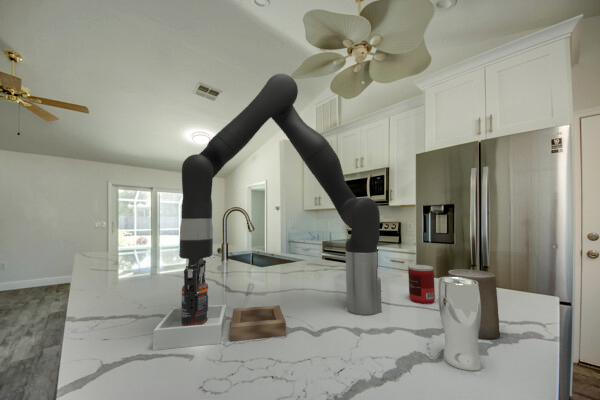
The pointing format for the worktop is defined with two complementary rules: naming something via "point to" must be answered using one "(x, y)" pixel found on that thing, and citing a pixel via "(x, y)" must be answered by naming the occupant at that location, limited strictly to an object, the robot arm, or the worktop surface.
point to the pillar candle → (484, 300)
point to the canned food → (421, 284)
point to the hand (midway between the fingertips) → (195, 307)
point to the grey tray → (189, 330)
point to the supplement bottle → (202, 312)
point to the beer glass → (460, 321)
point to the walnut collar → (257, 323)
